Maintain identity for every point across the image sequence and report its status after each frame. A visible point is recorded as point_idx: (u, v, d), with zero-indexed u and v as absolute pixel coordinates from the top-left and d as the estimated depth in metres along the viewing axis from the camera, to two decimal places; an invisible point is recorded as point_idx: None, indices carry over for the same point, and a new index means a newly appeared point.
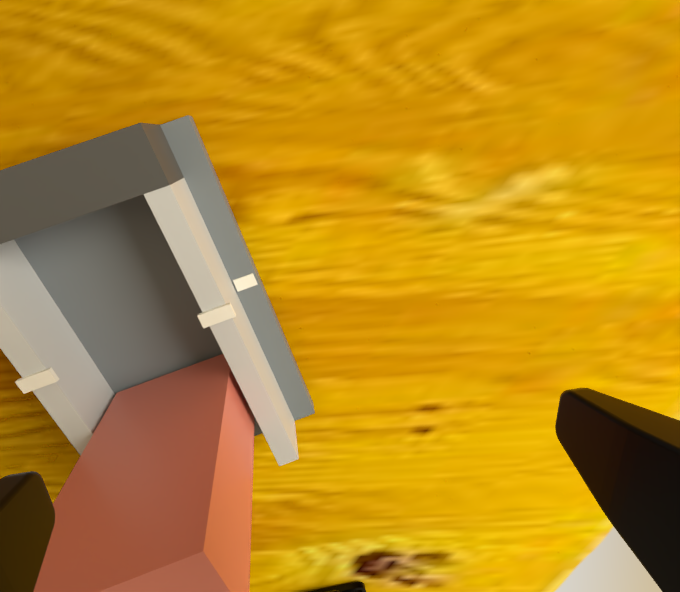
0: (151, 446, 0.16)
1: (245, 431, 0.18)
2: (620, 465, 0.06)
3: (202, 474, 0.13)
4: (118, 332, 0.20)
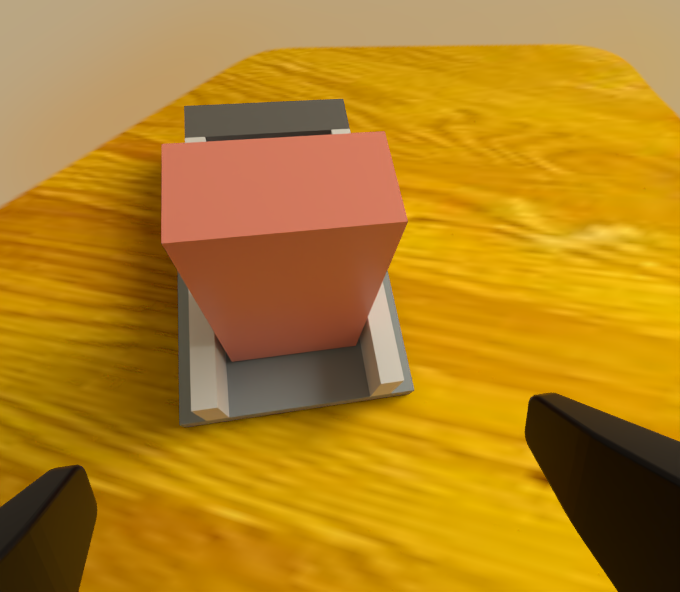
0: None
1: None
2: (583, 472, 0.06)
3: None
4: None
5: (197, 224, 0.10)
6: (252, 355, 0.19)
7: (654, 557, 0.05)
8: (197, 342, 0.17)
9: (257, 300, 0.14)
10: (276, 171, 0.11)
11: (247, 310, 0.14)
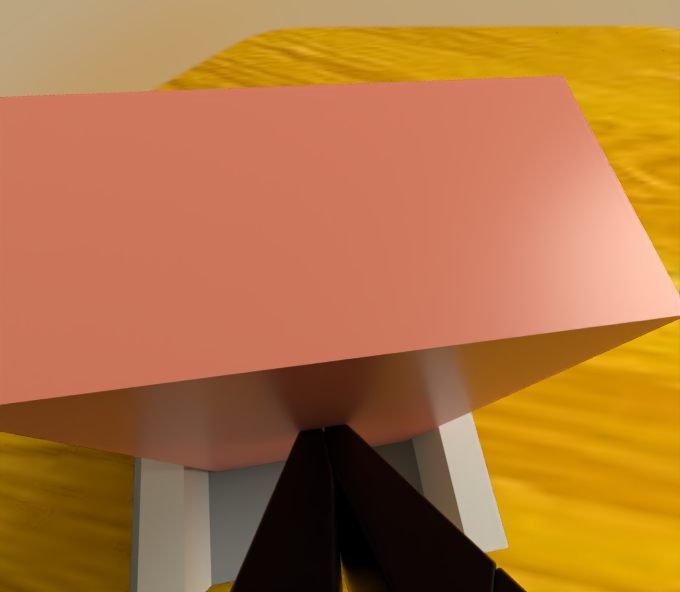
0: None
1: None
2: (339, 517, 0.06)
3: None
4: None
5: (58, 340, 0.03)
6: (247, 465, 0.12)
7: None
8: (154, 482, 0.10)
9: (255, 437, 0.07)
10: (306, 170, 0.04)
11: (235, 446, 0.07)
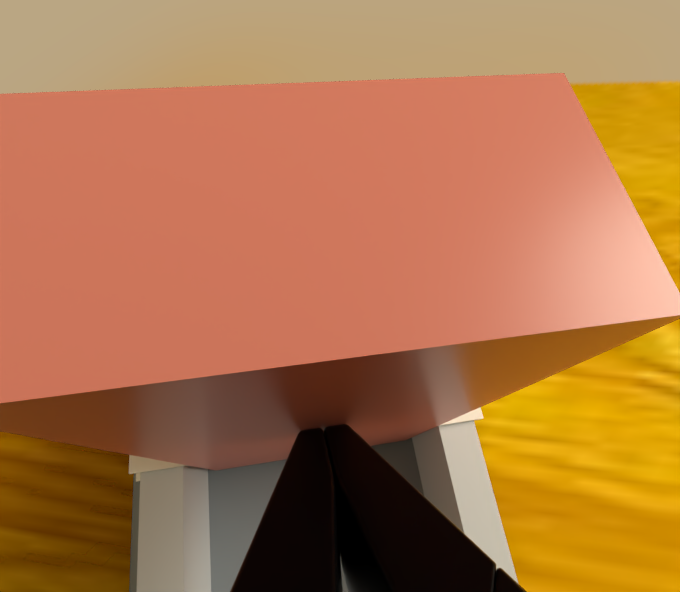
0: None
1: None
2: (339, 517, 0.06)
3: None
4: None
5: (54, 337, 0.03)
6: (246, 464, 0.12)
7: None
8: None
9: (253, 436, 0.07)
10: (304, 170, 0.04)
11: (234, 444, 0.07)
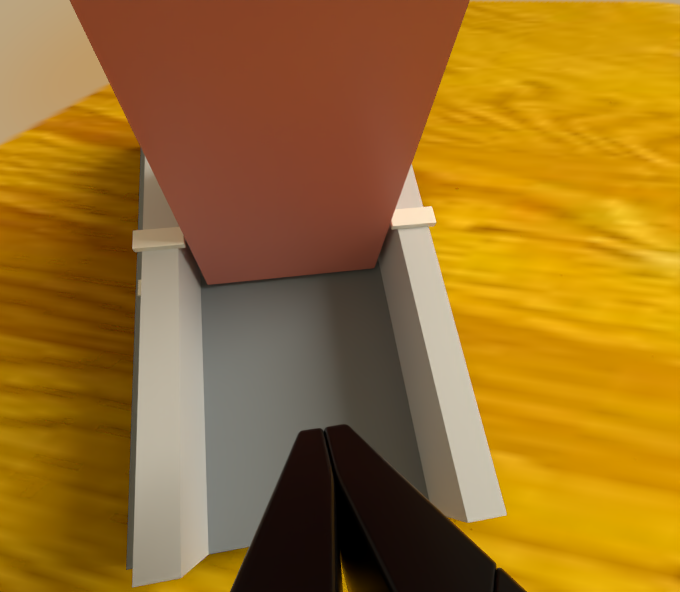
0: None
1: None
2: (339, 517, 0.06)
3: None
4: (250, 283, 0.15)
5: None
6: (234, 274, 0.14)
7: None
8: (150, 448, 0.10)
9: (231, 131, 0.09)
10: None
11: (218, 160, 0.09)
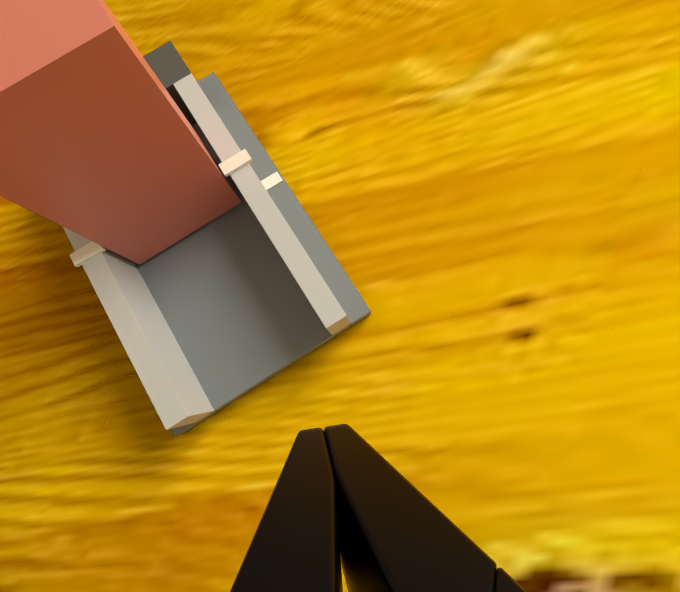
0: None
1: (204, 148, 0.18)
2: (339, 517, 0.06)
3: None
4: (167, 250, 0.22)
5: None
6: (151, 250, 0.21)
7: None
8: (142, 366, 0.17)
9: (77, 181, 0.14)
10: None
11: (83, 198, 0.15)
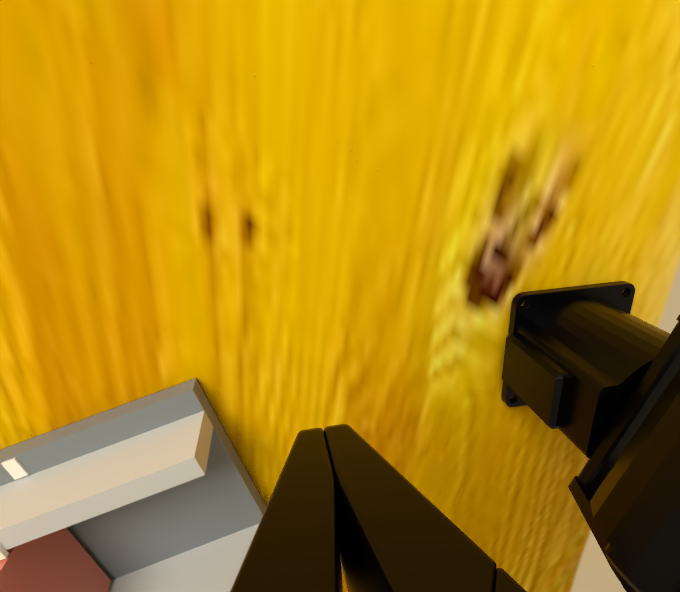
0: None
1: None
2: (339, 517, 0.06)
3: None
4: (97, 557, 0.21)
5: None
6: (96, 579, 0.20)
7: None
8: None
9: None
10: None
11: None
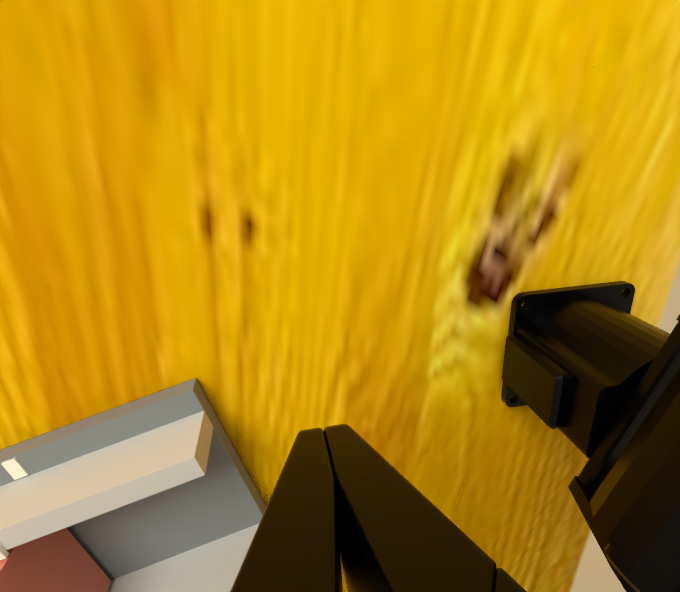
0: None
1: None
2: (339, 517, 0.06)
3: None
4: (97, 557, 0.21)
5: None
6: (96, 579, 0.20)
7: None
8: None
9: None
10: None
11: None
